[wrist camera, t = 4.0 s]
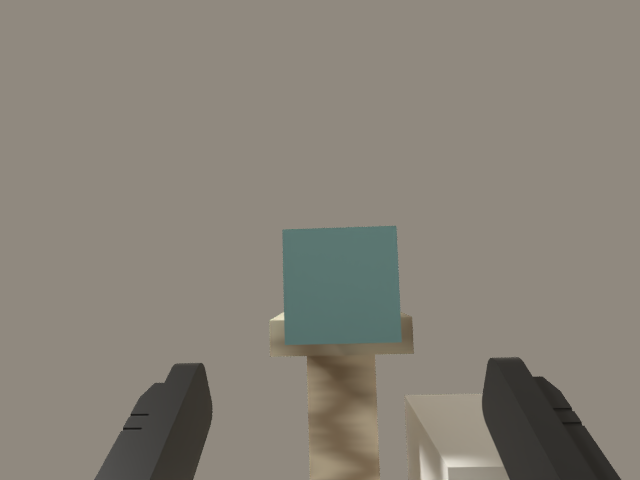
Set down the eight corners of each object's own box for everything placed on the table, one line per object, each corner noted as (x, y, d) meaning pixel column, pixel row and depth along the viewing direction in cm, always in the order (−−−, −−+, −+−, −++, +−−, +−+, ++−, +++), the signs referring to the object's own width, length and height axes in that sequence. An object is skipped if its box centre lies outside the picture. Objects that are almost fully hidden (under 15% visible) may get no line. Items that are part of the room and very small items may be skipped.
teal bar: (283, 346, 14) (281, 228, 14) (317, 303, 40) (316, 261, 40) (403, 344, 14) (397, 224, 14) (359, 302, 40) (357, 260, 40)
